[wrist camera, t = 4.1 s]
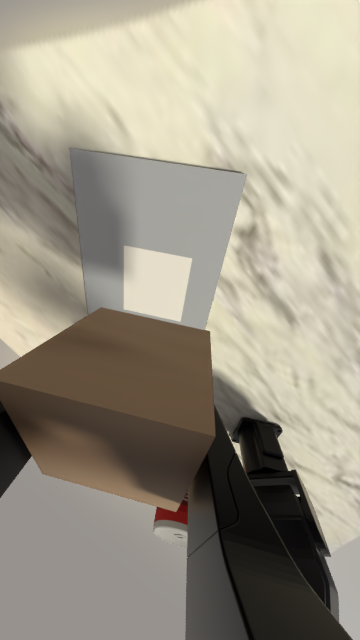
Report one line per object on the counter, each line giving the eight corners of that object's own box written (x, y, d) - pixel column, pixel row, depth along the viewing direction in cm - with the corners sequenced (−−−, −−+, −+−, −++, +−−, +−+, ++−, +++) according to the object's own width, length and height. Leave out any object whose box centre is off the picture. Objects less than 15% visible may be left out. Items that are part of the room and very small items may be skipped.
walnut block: (187, 402, 11) (176, 511, 6) (106, 382, 11) (42, 473, 7) (209, 331, 8) (215, 436, 4) (101, 307, 8) (-13, 377, 4)
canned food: (186, 465, 35) (179, 549, 25) (160, 446, 34) (142, 528, 24) (212, 456, 32) (215, 548, 22) (185, 436, 31) (175, 525, 21)
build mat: (196, 356, 22) (196, 359, 22) (92, 332, 23) (90, 334, 23) (245, 176, 13) (247, 174, 13) (73, 151, 15) (69, 147, 14)
